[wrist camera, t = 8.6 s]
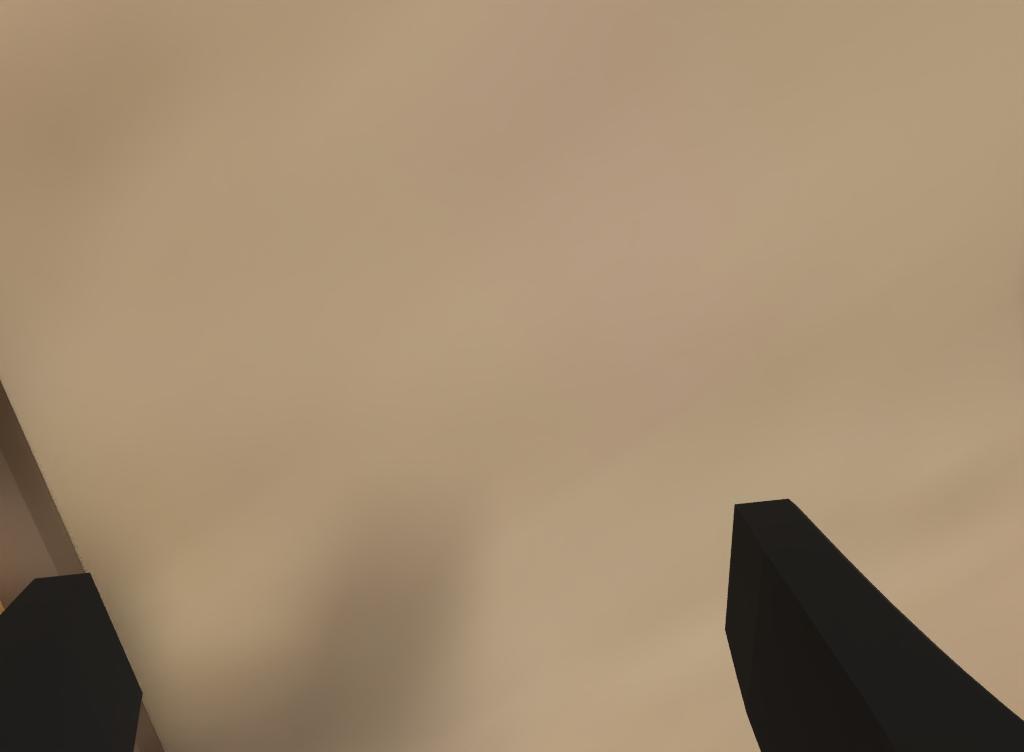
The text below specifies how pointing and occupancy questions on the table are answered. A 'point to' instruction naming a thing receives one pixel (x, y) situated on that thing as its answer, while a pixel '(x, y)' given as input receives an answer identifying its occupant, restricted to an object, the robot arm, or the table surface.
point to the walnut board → (36, 533)
